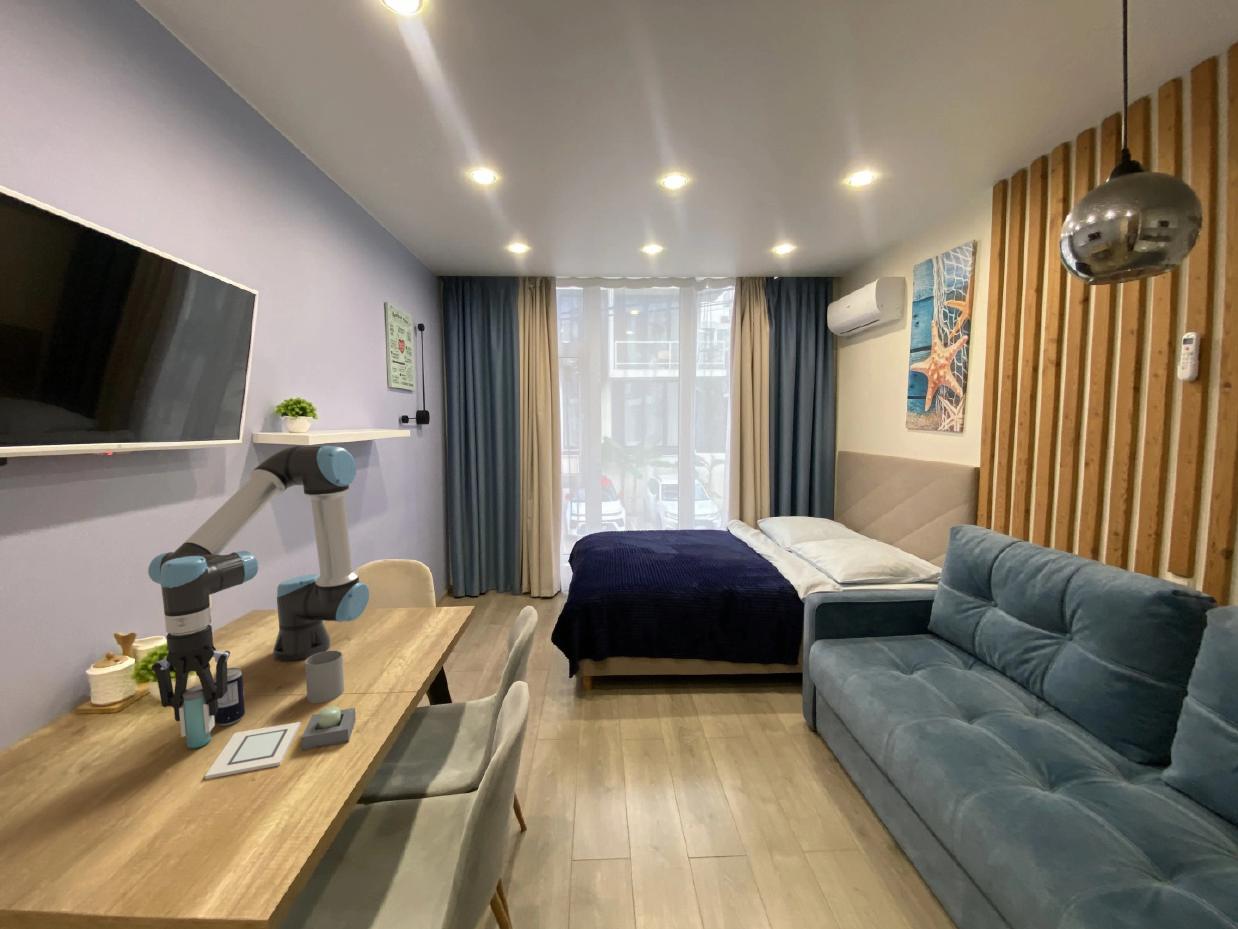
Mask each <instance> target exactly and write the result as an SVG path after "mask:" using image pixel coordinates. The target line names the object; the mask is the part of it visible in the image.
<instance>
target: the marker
mask: <svg viewBox="0 0 1238 929" xmlns="http://www.w3.org/2000/svg"><path fill="white" fill-rule="evenodd" d="M183 700H184V711H185V723H186V736H185V737H186V744H187V746H186V747H187V749H192V750H193V749H197V748H202V747H204V746H206V745H207V744H209V743H210V742H211V740H212V738H211V731H210V732H208V733H205V724H204V712H203V704H204V703H206V702H207V700H206V697H205V694H204V691H203V688H202V685H196V686H191V687H190V688H186V690H185V691H184V692H183Z"/></svg>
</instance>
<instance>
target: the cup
mask: <svg viewBox="0 0 1238 929" xmlns="http://www.w3.org/2000/svg"><path fill="white" fill-rule="evenodd" d="M343 656H344V655H343V652H342V651H339V650H325V651H324V652H320V653H317V654H314V655H312V656H310V657H308V658H305V661H304V663H305V664H304V666H305V682H306V686H305V687H306V699H307V701H308V702H309V703H311V704H322V703H326V702H330V701H333V700H335V699H338V698H339V697H340V696H341V695H343V693H344V691H345V682H344V680H345V678H344V660H343Z"/></svg>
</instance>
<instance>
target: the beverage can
mask: <svg viewBox="0 0 1238 929" xmlns="http://www.w3.org/2000/svg"><path fill="white" fill-rule="evenodd" d="M213 680H214V683H215V686H216V673H214V675H213ZM244 691H245V690H244V679H243V673H242V671H241V669H240V668H239V667H227V692H226V693H225V695H224V696H223V697H222V698H220V699H218V712H217V713H216V714H215V715H214V721H215V724H218V725H219V726H221V727H223V726H230V725H233V724H236V723H238V722H239V721H240V720H242V717H243V716H244V715H245V714H246V711H245V710H246V709H245V693H244Z"/></svg>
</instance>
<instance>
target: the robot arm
mask: <svg viewBox="0 0 1238 929" xmlns="http://www.w3.org/2000/svg"><path fill="white" fill-rule="evenodd" d="M356 475H357V464H356V462H355V459H354V457H353V456H352V454H351V452H349V451H348V450H347V449H346V448H343V447H340V446H332V445H305V446H304V445H294V446H293V445H292V446H289V447H286V448H283V449H281V450H279V451H278V452H275V453H274V454H272V455H270V456H269V457H268V458H266V459H265V460H263V461H262V462H261V463H260V464H258V466H256V467H255V468H254V469H253V470H252V471H251V472H250V474H249V479H248V480H247V481H246V482H245V483H244V484H242V486H241V487H239V489H238V490H237V491H236V492H235V493H234V494H233V495H231V496H230V498H228V500H226V501H225V502H224V503H223V504H222V505H221V506H220V507H219V508H218V509H217V510H216V511H214V513H213V514H212V515H211V516H210V517H209V518H208V519H207V520H206V521H204V523H203V524H202V525H201V526H199V527H198V528H197V529H196V531H194V532H193V533H192V534H191V535H190V536H189V537H188V538H187V539H186V540H185V541H184V542H183V543H182V544H181V545H180V546H179V547H178V548H177V549H175V551H174V552H173V551H171V552H164V553H161V554H159V555H156V556H155V557H154V558H153V559H152V560H151V561H150V563H149V566H148V567H147V568H148V569H147V570H148V571H147V572H148V576H149V578H150V580H151V581H152V582H154V583H156V584H159V585H160V587H161V594H162V595H161V597H162V603H163V604H162V605H163V613H164V624H165V632H166V633H167V635H166V637H165V638H166V646H167V651H168V653H167V655H166V657H165V658H163V659H162V658H161V659H158V660H157V661H156V662H155V663H153V664H152V666H151V669H152V670H153V672H154V673H155V675H156V680H157V686H158V690H159V696H160V701H161V702H160V703H161V706H162V707H163V708H167V707H172V708H173V713H174V720H175V722H179V723H180V734H181V737H182V738H183V737H187V736H186V723H185V711H184V700H183V692H184V691H185V690H187V686H188V685H187V684H188V678H189V673H190V672H195V674H196V676H197V677H198V680H199V682H200V684H201V685H202V688H203V691H204V694H205V697H206V700H207V702H206V703H204V704H203V712H204V724H205V733H208V732H210V733H211V731H212V729H213V728H214V727H215V725H216V722H215V714H216V713H217V712H218V699H220V698H222V697H223V696H224V695H225V693H226V692H227V668H228V659H229V657H230V655H231V651H229V650H225V651H219V650H217V648H216V647H215V646H214V641H213V640H214V638H213V628H212V625H210V624H211V623H212V615H211V607H210V606H211V603H210V601H211V600H210V599H211V598H210V595H213V594H216V593H219V592H222V591H224V590H227V589H230V588H233V587H236V586H240V585H243V584H244V583H246V582H248V581H251V580H252V579H253V578H255V576H256V575H257V574H258V572H259V562H258V559H257V558H256V556H255V555H254V554H253V553H251V552H250V551H245V550H241V551H240V550H239V551H233V552H231V553H229V554H221V553H222V552H223V551H224V550H225V549H226V548H227V547H228V546H229V545H230V543H231V542H232V541H233V540H234V539H236V537H237V536H238V535H239V534H240V533H241V532H242V531H243V530H245V528H246V527H247V526H248V525H249V524H250V523H251V521H252V520H253V519H254V518H255V517H256V516H257V515H258V514H259V513H260V512H261V511H262V510H263V508H265V507H266V505H268V504H269V503H270V501H272V499H273V498H275V496H280V495H282V494H283V493H285V491H286V490H287V489H289V488H291V487H294V486H302V488H303V493H304V495H305V496H307V497H308V498H309V499H310V501H311V502H310V503H311V511H312V518H313V524H314V525H313V526H314V534H315V535H314V536H315V542H316V551H317V558H318V566H319V574H317V573H313V574H307V575H301V576H296V577H294V578H293V577H292V578H290V579H287V580H284V581H282V582H281V583H279V584H278V585H277V591H276V592H277V593H276V594H277V595H276V604H277V616H278V628H279V629H278V634H277V636H276V638H275V639H276V640H275V642H274V646H273V657H274V659H275V660H278V661H283V662H286V661H287V662H292V661H300V660H304V659H305V660H306V659H307V658H308V657H310V656H312V655H314V654H317V653H320V652H324V651H328V649H329V648H330V646H331V637H330V635H329V633H328V630H327V628H326V626H325V623H324V621H325V622H337V623H343V622H353V621H355V620H357V619H358V618H359V617H361V616H362V614H363V613H364V611H365V610H366V607H367V606H368V604H369V601H370V600H369V599H370V588H369V586H368V585H367V584H366V583H364V582H362V581H361V582H360V575H359V573H358V572H357V571H355V570H354V569H353V563H352V562H353V561H352V554H351V545H350V536H349V535H350V534H349V529H348V528H349V527H348V519H347V518H348V517H347V509H346V501H345V495H346V493H347V492H348V491H349V490H350V485H351V484H352V483H353V482H354V480H355V478H356V477H355V476H356ZM213 658H214V662H215V663H216V666H215V674H216V686H215V683H214V680H213V679H214V676H213V673H212V672H211V664H210V661H211V660H212V659H213ZM170 665H171V666H172V668H174V669H175V684H174V687H173V682H172V681H173V680H172V675H171V670H170Z"/></svg>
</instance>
